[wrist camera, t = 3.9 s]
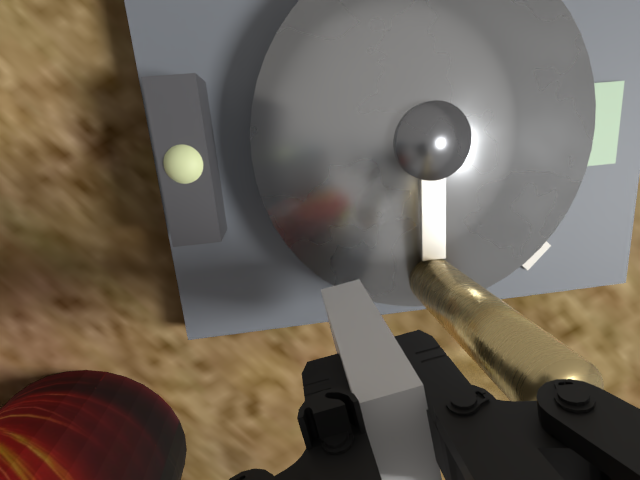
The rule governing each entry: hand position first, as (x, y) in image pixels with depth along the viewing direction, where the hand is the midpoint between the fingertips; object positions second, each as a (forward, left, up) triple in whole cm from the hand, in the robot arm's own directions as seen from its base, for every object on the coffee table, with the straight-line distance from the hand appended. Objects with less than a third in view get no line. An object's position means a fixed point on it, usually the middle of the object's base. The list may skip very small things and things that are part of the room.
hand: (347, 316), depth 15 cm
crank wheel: (+4, +6, -3) cm, 8 cm away
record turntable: (+4, +6, -5) cm, 9 cm away
